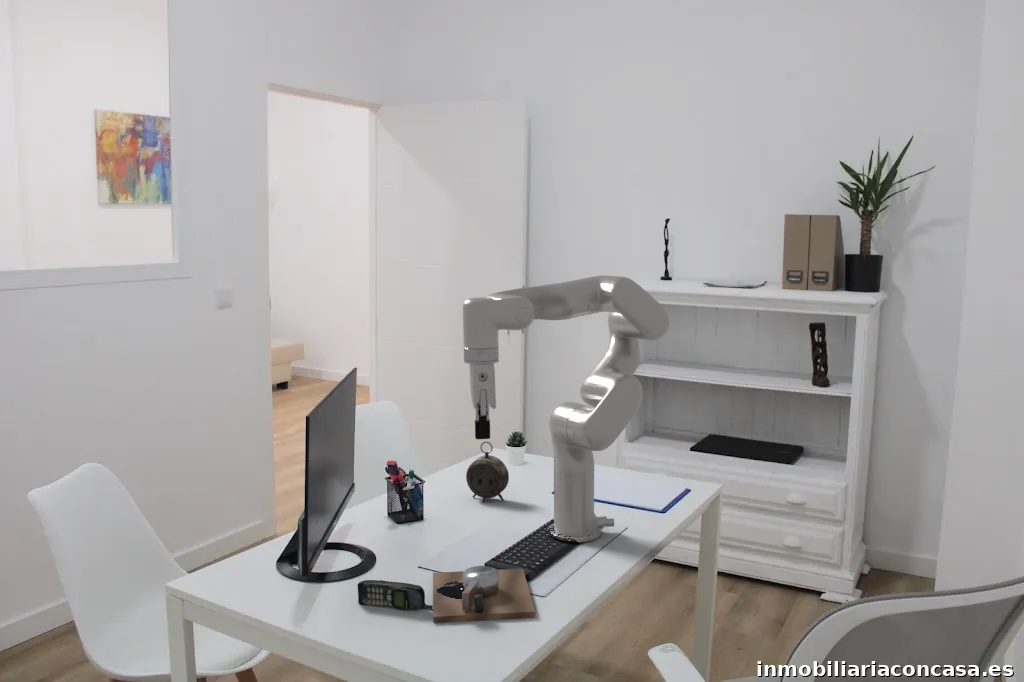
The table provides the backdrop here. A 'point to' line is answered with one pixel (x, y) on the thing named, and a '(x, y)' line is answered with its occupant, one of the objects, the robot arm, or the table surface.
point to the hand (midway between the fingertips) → (482, 438)
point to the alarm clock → (487, 476)
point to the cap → (478, 584)
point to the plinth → (485, 599)
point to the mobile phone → (391, 595)
